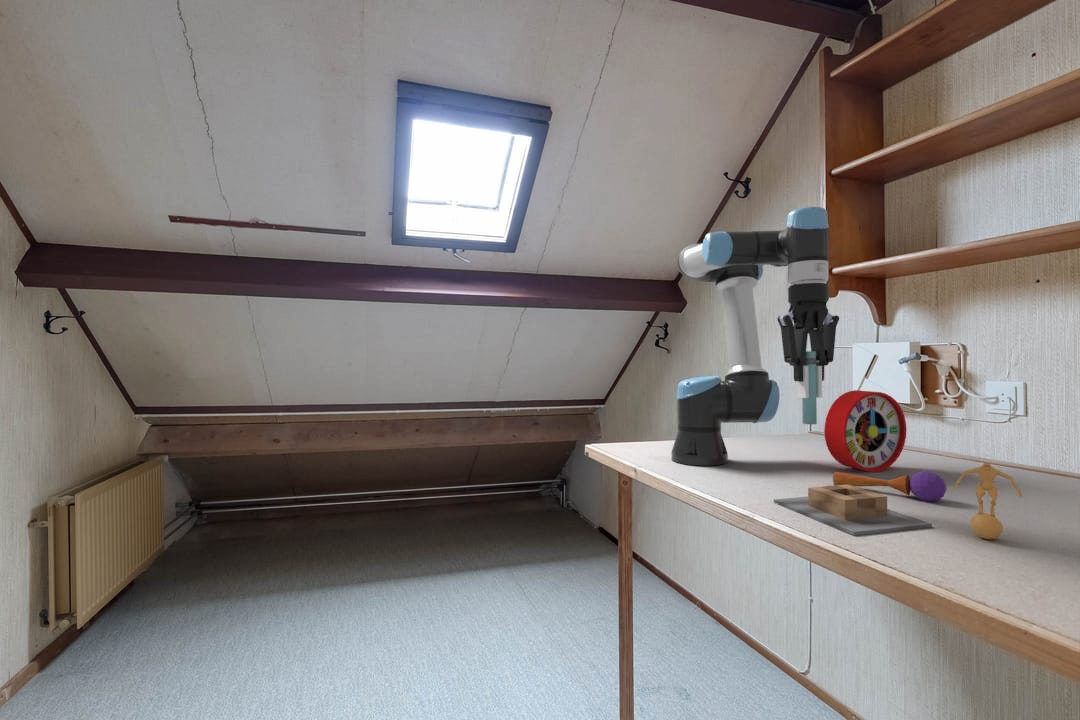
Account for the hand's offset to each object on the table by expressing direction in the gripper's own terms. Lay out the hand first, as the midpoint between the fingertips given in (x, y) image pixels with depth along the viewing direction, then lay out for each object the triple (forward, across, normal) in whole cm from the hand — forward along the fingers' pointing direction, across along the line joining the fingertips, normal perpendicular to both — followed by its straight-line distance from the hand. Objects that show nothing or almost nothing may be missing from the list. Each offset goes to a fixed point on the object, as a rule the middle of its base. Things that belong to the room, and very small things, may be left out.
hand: (809, 397), depth 110 cm
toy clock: (+21, +31, +18) cm, 42 cm away
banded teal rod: (+6, 0, 0) cm, 6 cm away
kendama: (+21, +17, -2) cm, 27 cm away
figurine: (+21, +10, -27) cm, 36 cm away
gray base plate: (+21, -2, -11) cm, 24 cm away
